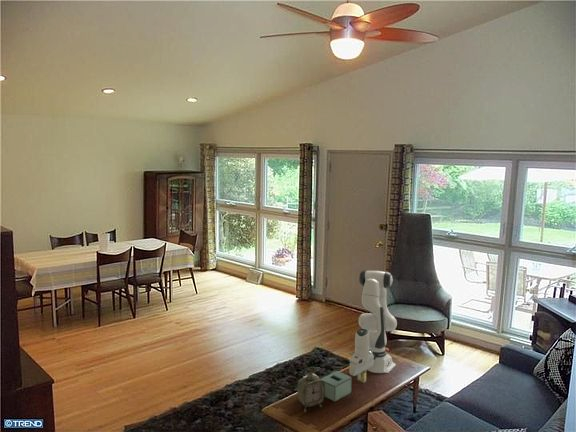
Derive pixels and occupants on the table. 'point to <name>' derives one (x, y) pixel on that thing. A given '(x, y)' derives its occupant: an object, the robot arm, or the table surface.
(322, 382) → the tabletop clock
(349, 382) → the coin box
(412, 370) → the table surface
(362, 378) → the wooden yellow block
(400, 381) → the table surface
